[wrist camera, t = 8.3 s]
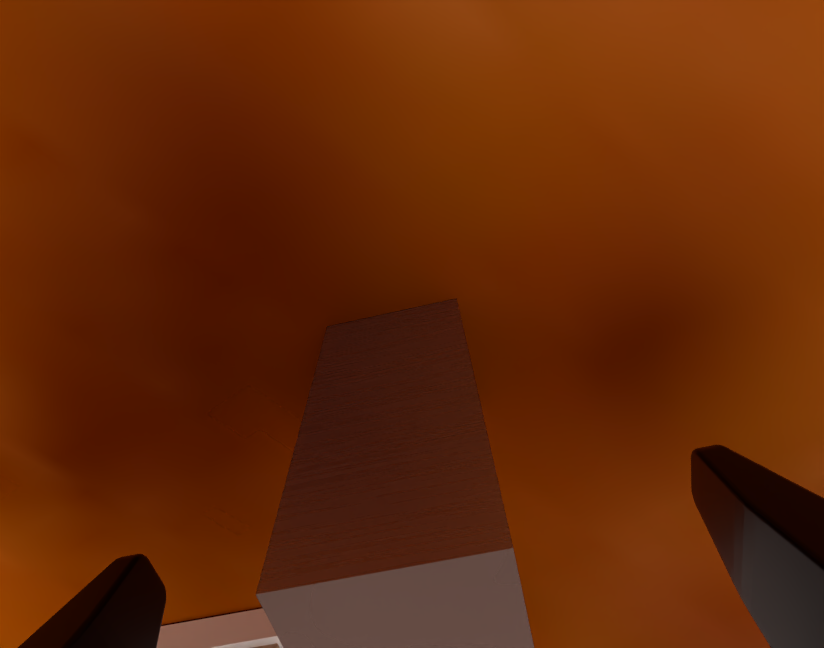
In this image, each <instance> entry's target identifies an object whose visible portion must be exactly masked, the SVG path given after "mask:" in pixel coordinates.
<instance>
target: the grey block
mask: <svg viewBox="0 0 824 648" xmlns="http://www.w3.org/2000/svg"><path fill="white" fill-rule="evenodd" d="M256 596H257V598H258V600H259V602H260V604H261V606H262V608H263V609H264V611H265V613H266V615H267V617H268V619H269V621H270V623H271V625H272V627H273V629H274V631H275V633H276V635H277V637H278V639H279V640H280V642H281V644H282V646H283V648H534V645H533V640H532V635H531V630H530V626H529V621H528V616H527V611H526V607H525V602H524V597H523V592H522V588H521V583H520V578H519V573H518V569H517V564H516V559H515V554H514V550H513V545H512V541H511V536H510V532H509V528H508V523H507V519H506V514H505V510H504V505H503V501H502V497H501V492H500V488H499V483H498V479H497V475H496V470H495V466H494V461H493V457H492V453H491V448H490V444H489V439H488V435H487V431H486V426H485V422H484V417H483V413H482V408H481V404H480V400H479V395H478V391H477V386H476V382H475V378H474V373H473V369H472V364H471V360H470V356H469V351H468V347H467V342H466V338H465V334H464V329H463V325H462V320H461V316H460V311H459V307H458V303H457V298H456V299H452V300H447V301H443V302H438V303H434V304H429V305H424V306H420V307H415V308H411V309H406V310H402V311H397V312H392V313H388V314H383V315H379V316H374V317H370V318H365V319H361V320H356V321H351V322H347V323H342V324H338V325H333V326H329V327H327V329H326V333H325V337H324V340H323V344H322V348H321V352H320V355H319V359H318V363H317V367H316V370H315V374H314V378H313V382H312V385H311V389H310V393H309V397H308V400H307V404H306V408H305V412H304V415H303V419H302V423H301V427H300V430H299V434H298V438H297V442H296V445H295V449H294V453H293V457H292V460H291V464H290V468H289V472H288V475H287V479H286V483H285V487H284V490H283V494H282V498H281V502H280V505H279V509H278V513H277V517H276V520H275V524H274V528H273V532H272V535H271V539H270V543H269V547H268V550H267V554H266V558H265V562H264V565H263V569H262V573H261V577H260V580H259V584H258V588H257V592H256Z"/></svg>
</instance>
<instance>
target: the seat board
mask: <svg viewBox="0 0 824 648" xmlns="http://www.w3.org/2000/svg"><path fill="white" fill-rule="evenodd" d="M157 648H283V646H282V644H281V642H280V640H279V639H278V637H277V635H276V633H275V631H274V629H273V627H272V625H271V623H270V621H269V619H268V617H267V615H266V613H265V611H264V609H263V608H261V609H256V610H250V611H244V612H239V613H233V614H228V615H222V616H216V617H211V618H205V619H199V620H194V621H188V622H183V623H177V624H171V625H166V626H161V628H160V633H159V638H158V643H157Z"/></svg>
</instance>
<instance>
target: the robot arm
mask: <svg viewBox="0 0 824 648" xmlns="http://www.w3.org/2000/svg"><path fill="white" fill-rule="evenodd" d="M691 485H692V495H693V498H694V501H695V504H696V506H697V508H698V510H699V512H700V514H701V517H702V519H703V521H704V523H705V525H706V527H707V529H708V531H709V533H710V535H711V537H712V539H713V542H714V544H715V546H716V548H717V550H718V552H719V554H720V556H721V558H722V560H723V562H724V564H725V566H726V569H727V571H728V573H729V575H730V577H731V579H732V581H733V583H734V585H735V587H736V589H737V591H738V593H739V595H740V597H741V599H742V600H743V602H744V604H745V606H746V607H747V609H748V611H749V612H750V614H751V616H752V617H753V619H754V621H755V622H756V624H757V626H758V627H759V629H760V630H761V632H762V634H763V635H764V637H765V638H766V640H767V642H768V643H769V645H770V647H771V648H824V498H822V497H820V496H819V495H817V494H815V493H813V492H811V491H809V490H807V489H805V488H803V487H801V486H799V485H798V484H796V483H794V482H792V481H790V480H788V479H786V478H784V477H782V476H780V475H778V474H776V473H775V472H773V471H771V470H769V469H767V468H765V467H763V466H761V465H759V464H757V463H755V462H753V461H752V460H750V459H748V458H746V457H744V456H742V455H740V454H738V453H736V452H734V451H732V450H730V449H729V448H727V447H724V446H722V445H712V446H707V447H702V448H697V449H695V450H694V451H693V452H692V455H691ZM165 603H166V590H165V586H164V584H163V582H162V581H161V579H160V577H159V576H158V574H157V572H156V571H155V569H154V568H153V566H152V564H151V563H150V561H149V559H148V558H147V557H146V556H144V555H143V554H135V555H130V556H125V557H121V558H118V559H116V560H115V561H114V562H112V563H111V564H110V565H109V566H108V567H107V568H106V569H105V570H103V571H102V572H101V573H100V574H99V575H98V576H97V577H96V578H95V579H93V580H92V581H91V582H90V583H89V584H88V585H87V586H86V587H85V588H84V589H82V590H81V591H80V592H79V593H78V594H77V595H76V596H75V597H74V598H72V599H71V600H70V601H69V602H68V603H67V604H66V605H65V606H64V607H62V608H61V609H60V610H59V611H58V612H57V613H56V614H55V615H54V616H52V617H51V618H50V619H49V620H48V621H47V622H46V623H45V624H44V625H42V626H41V627H40V628H39V629H38V630H37V631H36V632H35V633H34V634H32V635H31V636H30V637H29V638H28V639H27V640H26V641H25V642H24V643H22V644H21V645H20V646H19V647H18V648H157V643H158V638H159V633H160V628H161V623H162V618H163V613H164V608H165Z"/></svg>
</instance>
